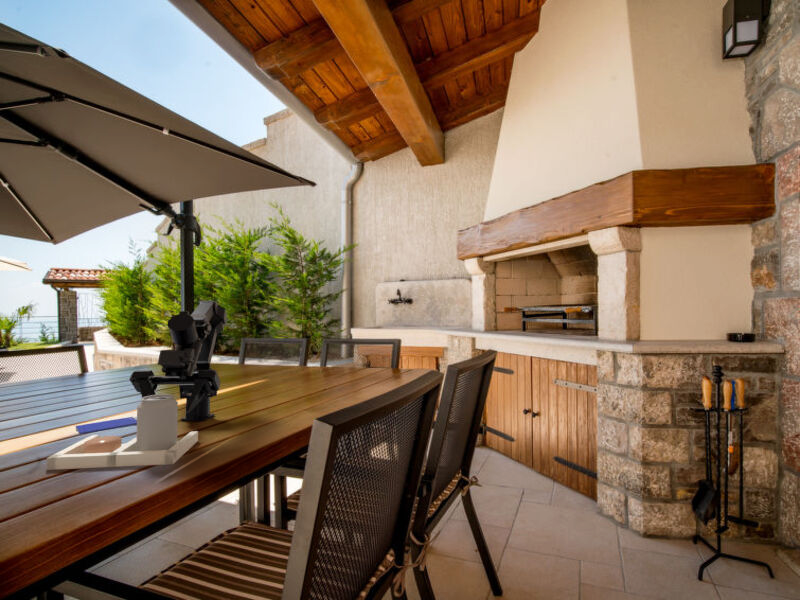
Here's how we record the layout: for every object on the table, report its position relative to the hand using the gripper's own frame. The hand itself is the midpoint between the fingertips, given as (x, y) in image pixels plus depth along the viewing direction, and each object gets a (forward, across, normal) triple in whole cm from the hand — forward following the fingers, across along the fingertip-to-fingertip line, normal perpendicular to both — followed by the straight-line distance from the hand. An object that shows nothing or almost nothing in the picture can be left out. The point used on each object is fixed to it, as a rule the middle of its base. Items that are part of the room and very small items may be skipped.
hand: (165, 412), depth 91 cm
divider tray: (+9, -5, +2) cm, 10 cm away
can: (+8, 0, +2) cm, 9 cm away
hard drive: (-6, -22, +19) cm, 30 cm away
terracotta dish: (+8, -10, +2) cm, 14 cm away
